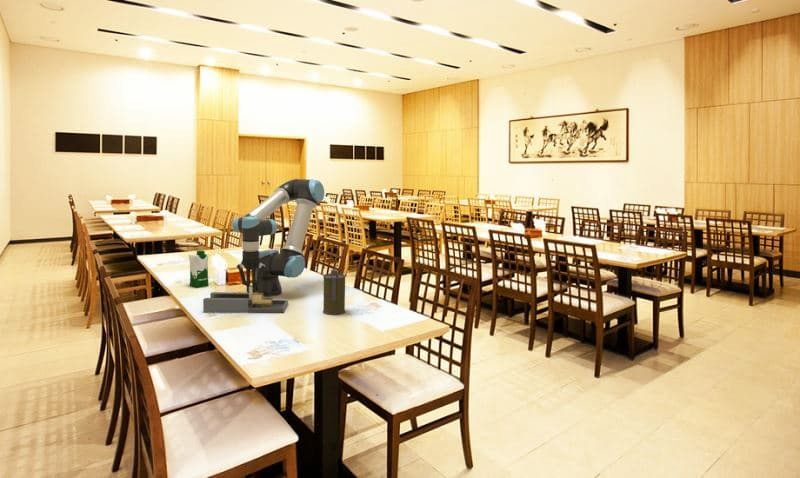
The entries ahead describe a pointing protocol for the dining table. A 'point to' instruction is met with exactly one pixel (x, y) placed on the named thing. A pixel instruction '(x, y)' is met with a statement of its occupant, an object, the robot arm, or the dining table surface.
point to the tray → (277, 307)
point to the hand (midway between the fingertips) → (251, 299)
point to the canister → (334, 293)
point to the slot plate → (227, 302)
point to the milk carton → (198, 269)
